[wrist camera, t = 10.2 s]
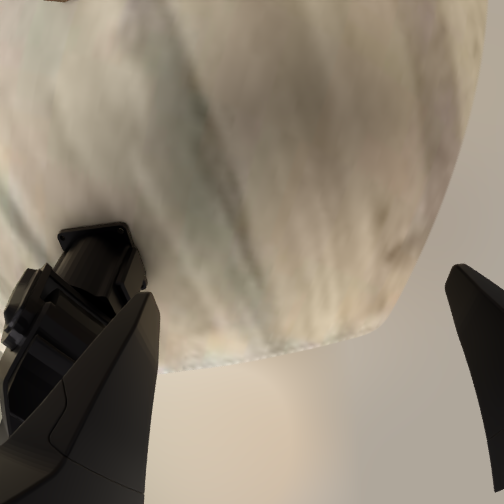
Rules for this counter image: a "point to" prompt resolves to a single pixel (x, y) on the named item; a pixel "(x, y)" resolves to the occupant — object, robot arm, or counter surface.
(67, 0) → the socket board
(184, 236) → the counter surface
